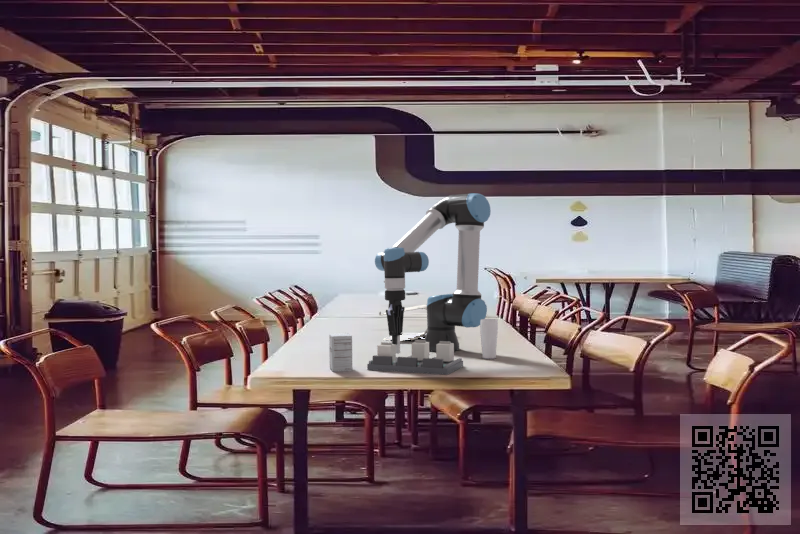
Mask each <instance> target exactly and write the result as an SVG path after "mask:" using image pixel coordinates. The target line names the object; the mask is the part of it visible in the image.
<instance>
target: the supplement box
mask: <svg viewBox="0 0 800 534" xmlns="http://www.w3.org/2000/svg"><path fill="white" fill-rule="evenodd" d="M328 337H329V341H328V342H329V344H328V345H329V347H328V348H329V369H330V370H331V372H333V373H334V372H338V373H339V372H351V371H353V335H351V334H350V333H349V332H347V333H346V332H345V333H344V332H343V333H340V332H339V333H329V334H328Z"/></svg>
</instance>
